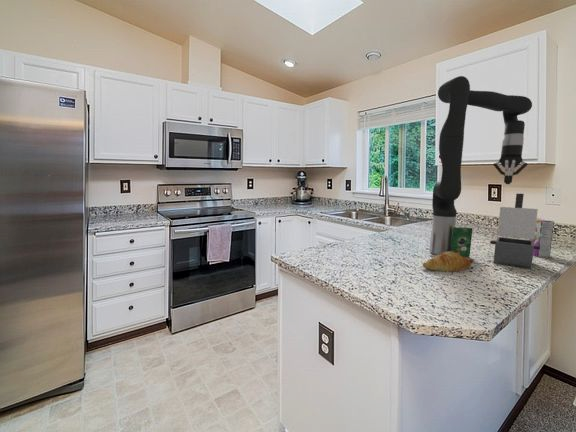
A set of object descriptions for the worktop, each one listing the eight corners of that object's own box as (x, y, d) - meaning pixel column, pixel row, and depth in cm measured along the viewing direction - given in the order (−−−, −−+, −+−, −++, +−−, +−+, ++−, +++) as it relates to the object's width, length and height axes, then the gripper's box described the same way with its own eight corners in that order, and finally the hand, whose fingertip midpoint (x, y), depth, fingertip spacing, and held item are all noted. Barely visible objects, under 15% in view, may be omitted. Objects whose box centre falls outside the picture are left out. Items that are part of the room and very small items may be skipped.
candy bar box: (522, 251, 143) (526, 216, 141) (535, 251, 142) (539, 217, 140) (537, 257, 132) (541, 220, 130) (550, 258, 131) (555, 220, 129)
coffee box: (465, 255, 133) (467, 226, 132) (470, 257, 131) (473, 227, 129) (449, 256, 132) (452, 226, 130) (454, 258, 129) (457, 228, 127)
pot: (487, 262, 123) (489, 240, 122) (490, 256, 132) (492, 236, 131) (538, 270, 113) (541, 246, 112) (536, 263, 123) (539, 241, 121)
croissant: (427, 281, 110) (435, 265, 105) (412, 262, 118) (419, 246, 113) (475, 276, 115) (485, 261, 110) (458, 258, 123) (467, 243, 118)
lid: (501, 192, 129) (502, 193, 130) (497, 235, 130) (497, 235, 131) (539, 194, 121) (539, 194, 123) (534, 239, 122) (534, 239, 123)
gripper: (493, 144, 135) (489, 183, 137) (531, 143, 127) (526, 184, 129) (495, 146, 141) (490, 184, 143) (531, 145, 133) (526, 185, 135)
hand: (507, 184), depth 136 cm, fingers closed
